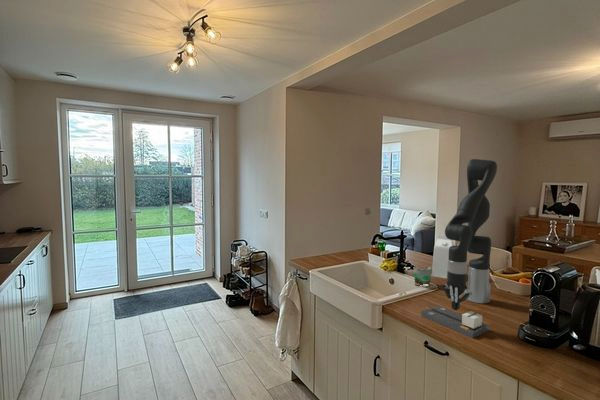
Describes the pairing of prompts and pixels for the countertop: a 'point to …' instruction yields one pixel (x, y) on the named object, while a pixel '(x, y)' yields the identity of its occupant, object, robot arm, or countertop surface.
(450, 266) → the robot arm
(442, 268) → the milk
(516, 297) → the countertop surface
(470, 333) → the fader console
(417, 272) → the food container
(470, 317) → the fader knob
